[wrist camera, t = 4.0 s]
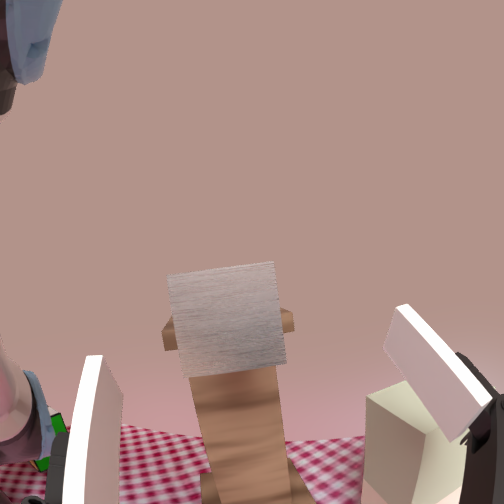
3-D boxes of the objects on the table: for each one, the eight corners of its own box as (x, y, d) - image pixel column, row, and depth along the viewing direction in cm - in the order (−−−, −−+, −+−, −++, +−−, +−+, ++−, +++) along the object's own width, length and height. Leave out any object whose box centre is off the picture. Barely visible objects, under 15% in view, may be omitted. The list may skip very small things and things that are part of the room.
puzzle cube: (55, 439, 42) (40, 399, 43) (78, 455, 38) (61, 412, 39) (20, 453, 33) (2, 411, 33) (40, 473, 29) (18, 427, 29)
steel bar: (286, 363, 11) (273, 261, 11) (183, 377, 10) (166, 274, 11) (238, 298, 39) (234, 268, 39) (208, 302, 38) (204, 272, 38)
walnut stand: (327, 528, 21) (316, 307, 23) (208, 552, 19) (136, 334, 20) (290, 464, 37) (269, 294, 39) (202, 480, 35) (162, 309, 36)
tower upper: (473, 476, 14) (495, 387, 15) (405, 521, 13) (425, 434, 13) (425, 446, 22) (433, 367, 22) (363, 477, 20) (365, 395, 21)
